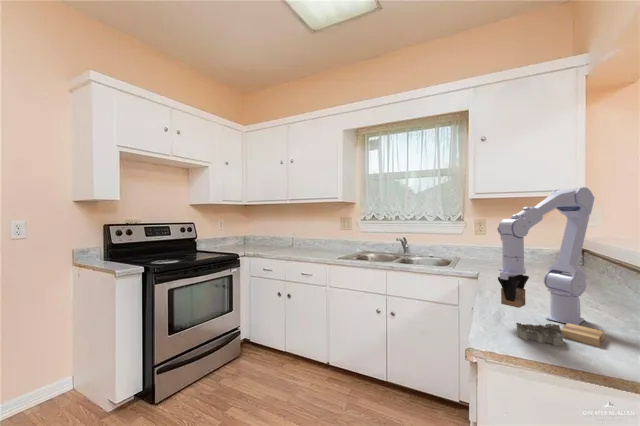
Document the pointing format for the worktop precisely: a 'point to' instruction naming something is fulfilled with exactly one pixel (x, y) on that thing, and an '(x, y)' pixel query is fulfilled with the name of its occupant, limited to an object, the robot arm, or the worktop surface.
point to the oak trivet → (583, 334)
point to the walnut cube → (518, 300)
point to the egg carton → (541, 333)
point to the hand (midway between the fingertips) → (513, 299)
